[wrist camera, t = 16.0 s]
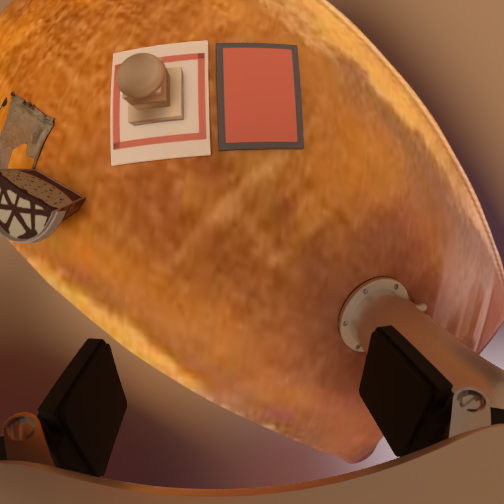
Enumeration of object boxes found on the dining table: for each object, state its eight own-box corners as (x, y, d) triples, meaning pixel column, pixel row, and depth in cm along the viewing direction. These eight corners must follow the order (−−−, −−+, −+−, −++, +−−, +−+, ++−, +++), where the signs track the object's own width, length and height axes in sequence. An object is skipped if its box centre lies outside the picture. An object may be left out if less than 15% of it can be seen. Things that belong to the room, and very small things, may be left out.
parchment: (11, 89, 26) (7, 88, 25) (60, 120, 29) (57, 119, 28) (-21, 161, 28) (-25, 162, 27) (23, 200, 31) (19, 201, 30)
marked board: (208, 43, 29) (207, 39, 28) (210, 155, 33) (210, 154, 32) (115, 56, 27) (113, 53, 26) (114, 165, 32) (111, 165, 30)
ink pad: (294, 48, 30) (297, 45, 29) (301, 149, 34) (304, 148, 33) (216, 46, 29) (216, 42, 28) (218, 150, 33) (219, 150, 32)
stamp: (183, 73, 29) (171, 33, 18) (183, 119, 30) (169, 95, 20) (134, 80, 28) (103, 45, 17) (133, 125, 30) (99, 106, 19)
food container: (16, 205, 30) (-28, 217, 21) (29, 165, 29) (-16, 167, 20) (78, 244, 33) (40, 268, 24) (94, 202, 32) (56, 214, 23)
